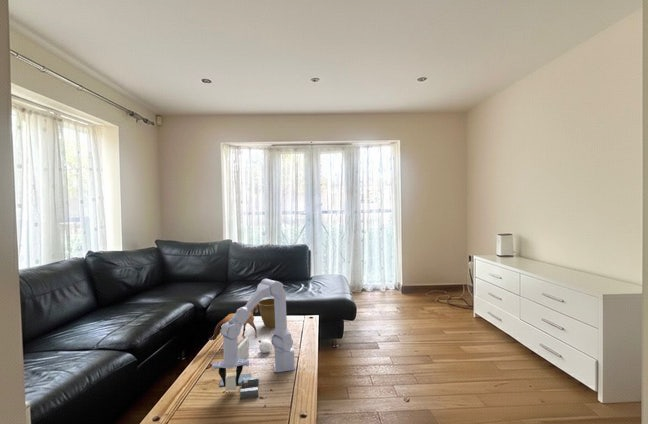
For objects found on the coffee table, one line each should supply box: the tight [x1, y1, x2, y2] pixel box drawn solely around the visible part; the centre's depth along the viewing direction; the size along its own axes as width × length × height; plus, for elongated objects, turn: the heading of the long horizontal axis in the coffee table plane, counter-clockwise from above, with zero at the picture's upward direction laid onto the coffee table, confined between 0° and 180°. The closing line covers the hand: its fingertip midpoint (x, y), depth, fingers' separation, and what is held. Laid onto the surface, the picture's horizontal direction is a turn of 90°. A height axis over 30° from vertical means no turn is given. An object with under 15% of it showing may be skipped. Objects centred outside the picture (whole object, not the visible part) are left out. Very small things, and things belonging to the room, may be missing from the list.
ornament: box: [258, 339, 273, 354], centre depth 161 cm, size 6×7×7 cm
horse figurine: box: [208, 304, 259, 341], centre depth 174 cm, size 31×8×21 cm, turn 134°
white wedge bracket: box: [238, 336, 250, 360], centre depth 155 cm, size 4×10×9 cm, turn 141°
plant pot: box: [258, 297, 275, 329], centre depth 198 cm, size 15×15×16 cm
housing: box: [239, 376, 260, 400], centre depth 126 cm, size 7×10×3 cm
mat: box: [219, 372, 252, 388], centre depth 134 cm, size 13×7×1 cm, turn 101°
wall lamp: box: [225, 371, 249, 391], centre depth 126 cm, size 9×4×5 cm, turn 97°
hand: (231, 384), depth 125 cm, fingers closed on wall lamp, 4 cm apart
